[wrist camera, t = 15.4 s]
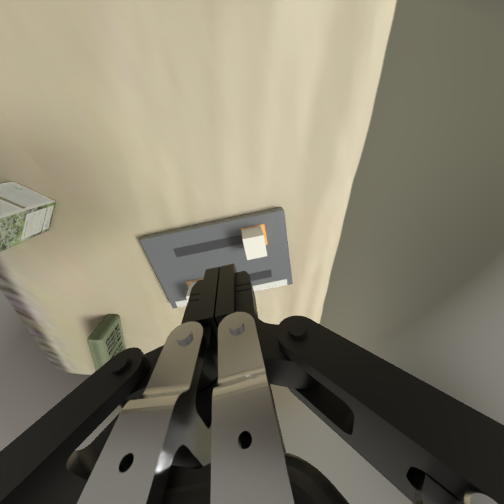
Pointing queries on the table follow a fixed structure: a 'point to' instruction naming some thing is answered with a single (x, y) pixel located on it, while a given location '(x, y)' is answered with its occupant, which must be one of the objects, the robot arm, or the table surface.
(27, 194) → the syrup box
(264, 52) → the table surface
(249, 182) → the table surface
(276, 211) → the switch panel
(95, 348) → the handheld radio
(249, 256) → the inner switch
